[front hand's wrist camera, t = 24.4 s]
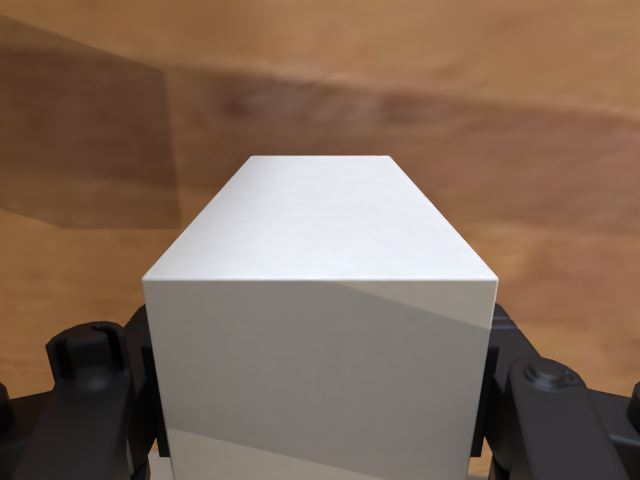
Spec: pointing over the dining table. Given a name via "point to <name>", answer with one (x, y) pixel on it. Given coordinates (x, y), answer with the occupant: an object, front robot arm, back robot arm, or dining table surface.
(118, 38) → the dining table surface
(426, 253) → the brick
